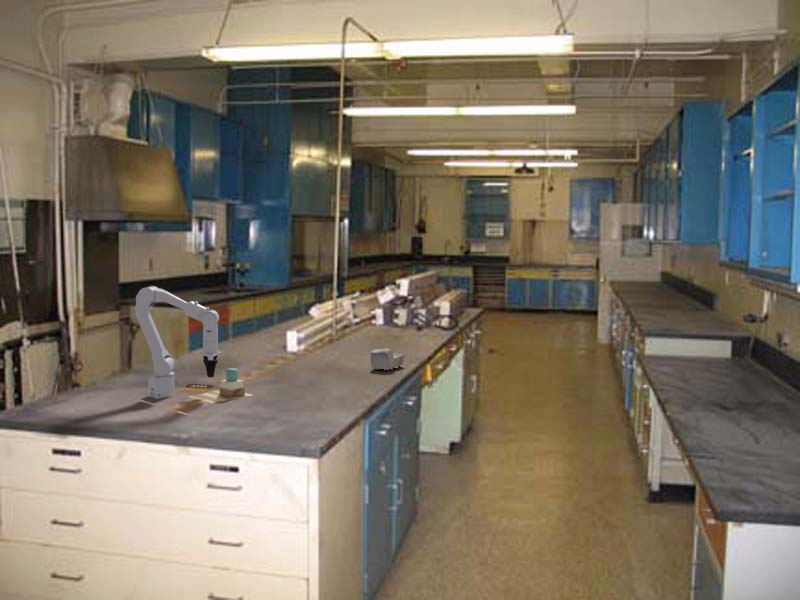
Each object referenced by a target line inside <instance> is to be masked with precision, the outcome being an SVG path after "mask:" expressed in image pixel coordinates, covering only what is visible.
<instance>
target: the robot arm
mask: <svg viewBox="0 0 800 600" xmlns="http://www.w3.org/2000/svg"><path fill="white" fill-rule="evenodd" d="M135 301H136V302H135V308H134V314H135V316H136V319H137V321H138V324H139V326H140V329H141V330H142V332H143V335H144V338H145V340H146V342H147V344H148V347H149V349H150V352H151V358H152V359H151V361H152V362H153V363H152V364H153V372H154V376H151V377H149V378H148V381H147V384H148V386H147V388H148V389H147V396H148V397H149V398H153V399H156V400H157V399H163V398H171V397H175V373H174V370H175V368H176V361H175V359H174V358H173V357H172V356H171V355H170V352H169V351H168V350H167V349H166V347H165V345H164V343H163V340H162V338H161V336H160V333H159V331H158V329H157V326H156V324H155V321H154V319H153V317H152V314H151V310H152V308H153V307H154V305H155V304H156V303H163V302H165V303H166V304H170V305H172V306H174V307H175V308H179V309H181V310H183V312H184V314H185V315H186V316H188V317H190V318H192V319H194V320H197V321H199V322H201V324H202V326H203V328H202V329H203V330H202V352H201V353H202V355H203V356H202V357H203V359H202V362H203V364H204V365H205V370H206V375H207V378H214V376H215V370H216V366H217V364H218V361H219V359H218V355H221V354H222V352H221V351H219V329H218V328H219V327H218V326H219V323H218V322H219V319H220V315H219V313H218V312H217V311H216V310H215V309H210V307H205V306H203V305H201V304H199V302H198V301H192V300H191V301H185V300H184V299H181V298H180V297H178V296H176V295H175V294H173V293H171V292H169V291H168V290H165V289H163V288H161V287H160V288H159V287H158V286H155V285H150V286H147V287H143V288H141V289H139V291H138V293H137V295H135Z"/></svg>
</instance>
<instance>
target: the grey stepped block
mask: <svg viewBox="0 0 800 600" xmlns="http://www.w3.org/2000/svg"><path fill="white" fill-rule="evenodd" d="M404 356H405V354H403V353H397V352H394V351H393V350H392V349H390V348H387V347H386V348H380V349H377V348H376V349H375V348H374V349H373V350H371V352H370V365H371V369H372V370H380V369H384V370H383V371H385V370H388V369H391V368H395V367H398V366H400V365H402V366H403V363H404ZM391 370H392V369H391ZM388 371H389V370H388Z"/></svg>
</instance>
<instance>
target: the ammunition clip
mask: <svg viewBox="0 0 800 600" xmlns="http://www.w3.org/2000/svg"><path fill="white" fill-rule="evenodd" d="M212 389H214V384H213V385H212V384H202V383H201V384H200V383H188V384H187V385H185V386H184V387H183V388H181V389H180V390H179V391H178V392H177V393H181V394H184V393H186V394H189V393H190V395H191V394H193V395H198V394H204V393H207V392H208V391H210V390H212Z"/></svg>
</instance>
